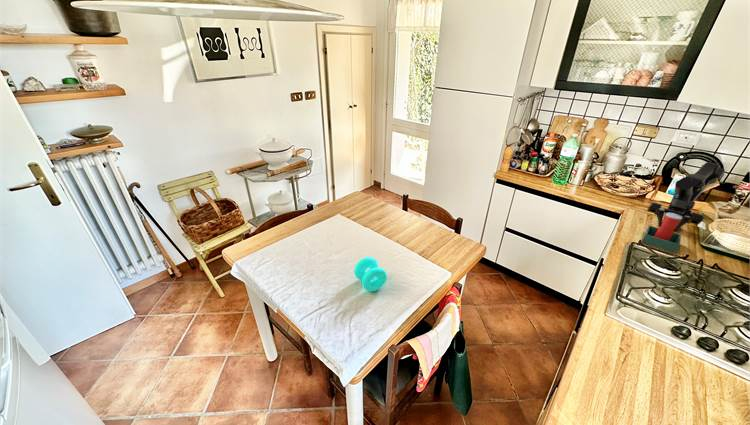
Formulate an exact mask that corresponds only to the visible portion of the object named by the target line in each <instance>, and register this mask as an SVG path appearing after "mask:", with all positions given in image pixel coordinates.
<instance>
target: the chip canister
mask: <svg viewBox="0 0 750 425" xmlns="http://www.w3.org/2000/svg"><path fill="white" fill-rule="evenodd" d="M682 218H683V217H682V216H680V215H678V214H675V213H670V212H668V213H666V215H665V214H664V216H663V219H662V223H661V225H660V227H657V228H658V230H657V232H656V234H655V235H654V237H657V238H660V239H663V240H666V241H669V240H670V238H671V236H672V235H673V233H675V229H676V228H677V226H678V224H679V223H680V221H681V219H682Z"/></svg>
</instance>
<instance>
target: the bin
mask: <svg viewBox="0 0 750 425" xmlns="http://www.w3.org/2000/svg"><path fill="white" fill-rule="evenodd" d="M658 228H659V227H656V226H653V225H648V226H647V228H646V230H645V232H644V233H643V237H642V239H641V243H642V244H645V245H648V246H651V247H654V248H658V249H660V250H663V251H667V252H669V253H673V254H676V252H677V250H678V249H679V247H680V245H681V239H682V234H680V233H676V232H674V233H673V235H672V236H671V238H670V240H669V241H666V240H663V239H660V238H657V237H654V235H655V234H656V232H657V230H658Z"/></svg>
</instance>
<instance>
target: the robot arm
mask: <svg viewBox="0 0 750 425" xmlns="http://www.w3.org/2000/svg"><path fill="white" fill-rule="evenodd" d="M725 173H726V170H725V169H724V168H723V167H721V165H719V164H718V163H713V162H707V161H706V162H705V163H704V164H702V165H701V166H700V167H699V169H698V170H697V171H696V172H695V173H689V174H687V175H685V176H683V177H682V178H680V179H679V180H677V181H675V186H674V193H673V196H672V198H671V200H670V203H669V205H668V206H667V208H666V207H664V206H662V205H663V204H661V203H658V202H651V203H650V204H649V205H648V207H647V210H646V211H647V212H648V213H653V214H654V215H655V216H656V218H657V228H659V227H660V225H661V223H662V221H663V219H664V217H665V215H666V213H668V212H670V213H675V214H678V215H680V216H682V217H683V218H682V219H681V221H680V223H679V224H678V226H677V228H676V229H675V231H674V233H676V232H678V231H680V230H682V228H681V227H683V226H684V225H686V224H688V225H689V224H693V225H700V224H702V222H703V221H704V219H705V216H704V214H702V213H697V212H693V211H692V210H693V209H694V206H695V204H696V200H697V199H698V197H699V196H701V194H702V193H703V192H704V191H705V189H707V187H708V186H709V185H712V184H715V183H717V182H718V180H721V179H722V178H723V177H724V176H725Z"/></svg>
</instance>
